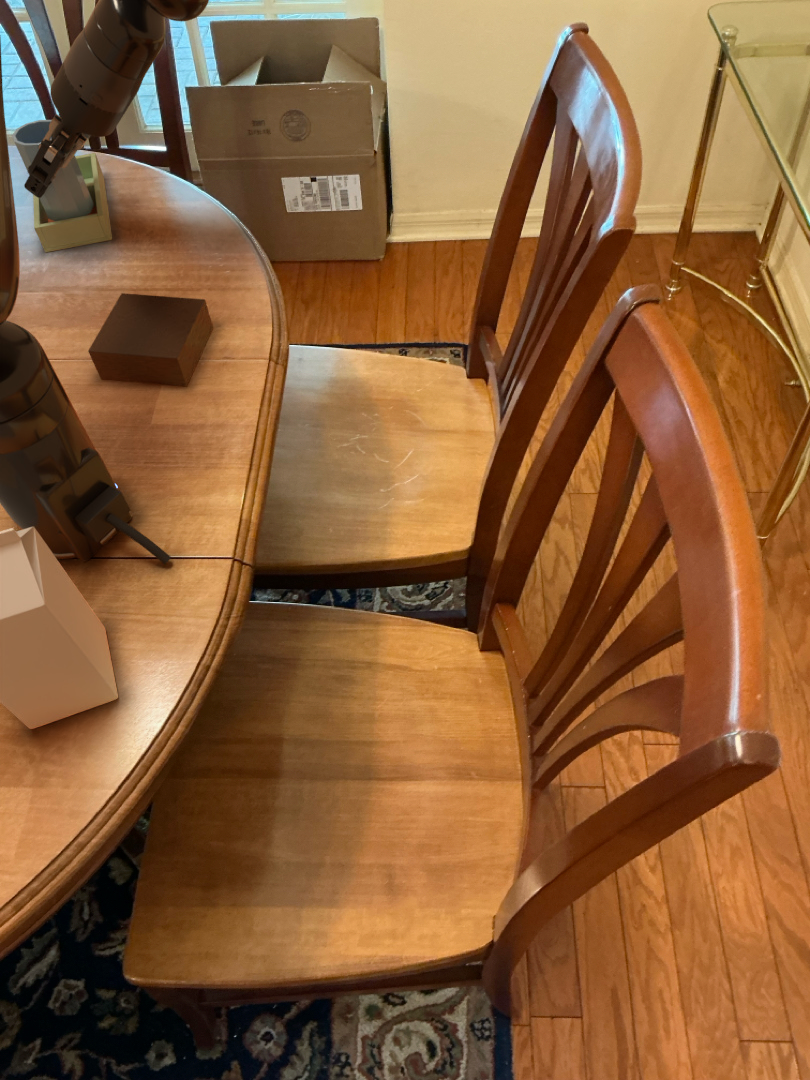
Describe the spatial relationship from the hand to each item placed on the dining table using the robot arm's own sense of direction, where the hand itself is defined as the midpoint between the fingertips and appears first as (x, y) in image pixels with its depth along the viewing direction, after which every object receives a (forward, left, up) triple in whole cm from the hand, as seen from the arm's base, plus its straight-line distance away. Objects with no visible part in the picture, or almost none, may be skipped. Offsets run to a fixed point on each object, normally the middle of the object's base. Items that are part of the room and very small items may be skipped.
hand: (44, 176), depth 97 cm
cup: (-2, -1, -4) cm, 5 cm away
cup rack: (+1, -3, -7) cm, 8 cm away
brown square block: (-29, +12, -7) cm, 32 cm away
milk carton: (-51, +46, -7) cm, 69 cm away
